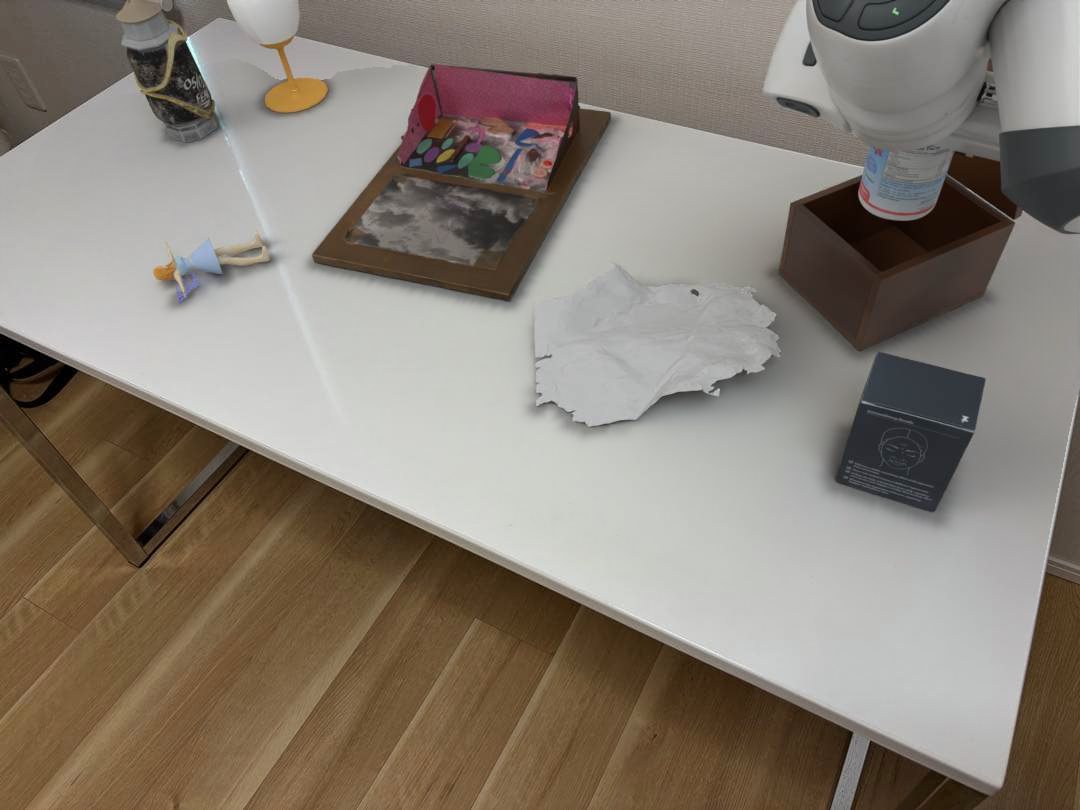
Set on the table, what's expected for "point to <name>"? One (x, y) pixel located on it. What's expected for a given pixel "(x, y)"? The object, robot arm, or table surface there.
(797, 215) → the chest
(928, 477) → the box
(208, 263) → the fairy figurine
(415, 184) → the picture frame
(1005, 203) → the chest lid
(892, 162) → the pill bottle
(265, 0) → the cup
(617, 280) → the paper
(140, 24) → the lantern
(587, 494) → the table surface
